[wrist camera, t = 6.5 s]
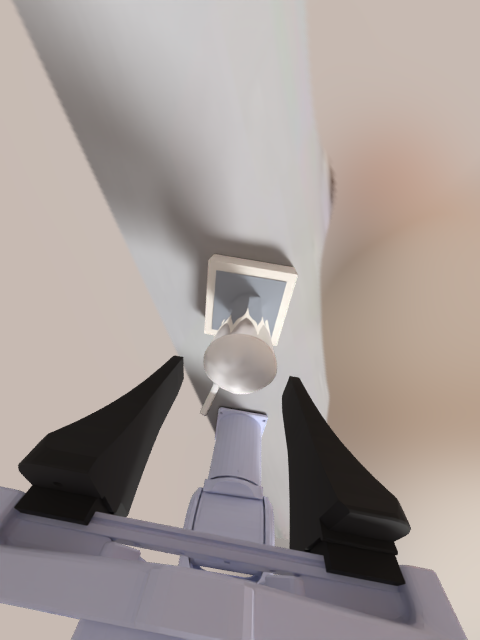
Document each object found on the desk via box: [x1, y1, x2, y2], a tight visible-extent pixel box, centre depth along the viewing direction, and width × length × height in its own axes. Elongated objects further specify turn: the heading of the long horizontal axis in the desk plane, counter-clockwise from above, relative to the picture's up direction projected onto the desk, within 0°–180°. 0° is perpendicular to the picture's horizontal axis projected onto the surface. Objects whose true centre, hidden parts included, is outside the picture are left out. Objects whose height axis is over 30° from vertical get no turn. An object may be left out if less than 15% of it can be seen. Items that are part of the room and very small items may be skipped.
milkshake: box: [200, 293, 277, 416], centre depth 15 cm, size 5×5×10 cm
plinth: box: [204, 254, 298, 346], centre depth 20 cm, size 8×8×3 cm
